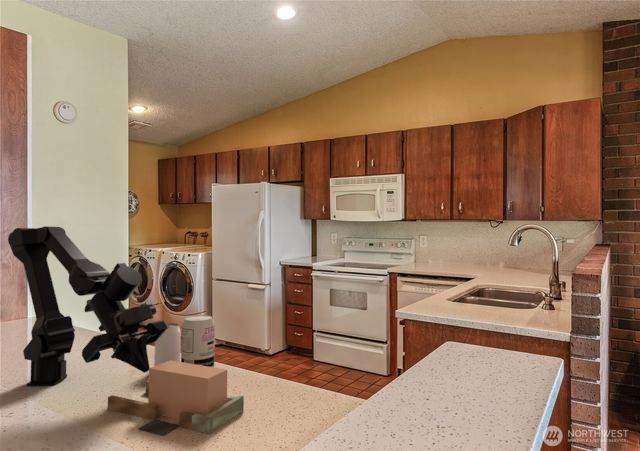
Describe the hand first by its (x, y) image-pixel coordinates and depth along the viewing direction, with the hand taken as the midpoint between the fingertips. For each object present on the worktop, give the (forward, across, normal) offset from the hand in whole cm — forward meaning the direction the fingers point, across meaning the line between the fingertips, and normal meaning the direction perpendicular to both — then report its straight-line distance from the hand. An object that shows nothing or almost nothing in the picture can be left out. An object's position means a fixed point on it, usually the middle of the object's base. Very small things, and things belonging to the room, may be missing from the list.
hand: (147, 370), depth 89 cm
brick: (+13, 0, -3) cm, 13 cm away
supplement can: (+4, +18, +6) cm, 19 cm away
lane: (+10, 0, -1) cm, 11 cm away
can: (-3, +19, +14) cm, 23 cm away
